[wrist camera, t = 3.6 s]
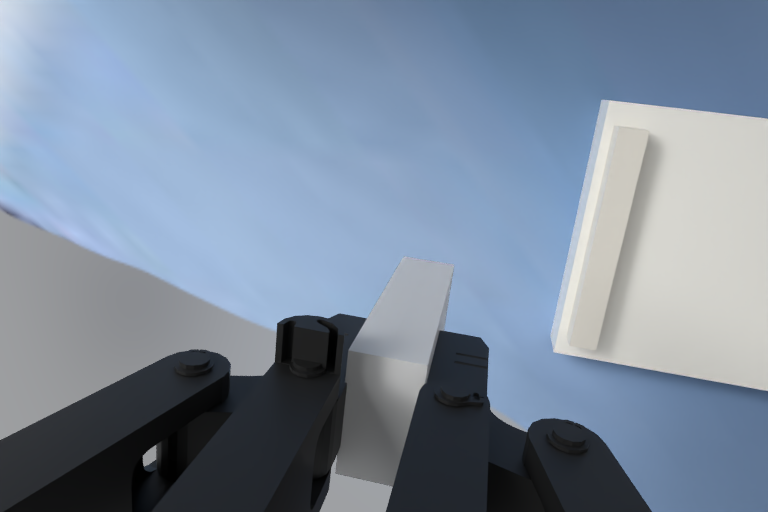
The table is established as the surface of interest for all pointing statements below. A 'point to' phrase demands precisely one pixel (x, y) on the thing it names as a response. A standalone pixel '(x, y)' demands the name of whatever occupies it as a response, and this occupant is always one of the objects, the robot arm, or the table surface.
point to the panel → (671, 246)
